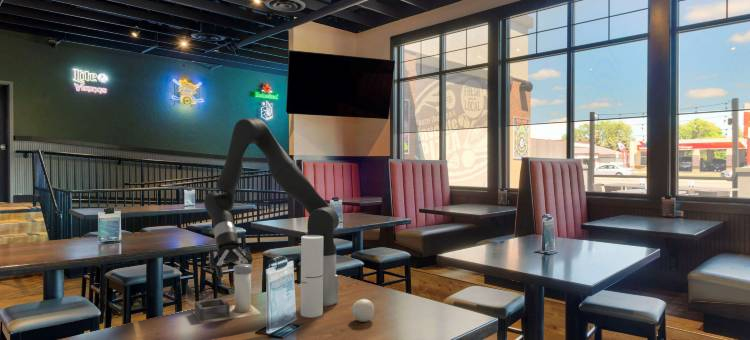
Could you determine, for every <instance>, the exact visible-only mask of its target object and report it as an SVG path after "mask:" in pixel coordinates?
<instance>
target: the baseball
mask: <svg viewBox="0 0 750 340" xmlns="http://www.w3.org/2000/svg"><path fill="white" fill-rule="evenodd" d="M350 314H351V316H353V317H354V319H355V320H356V321H358V322H361V323H362V322H363V323H366V322H368V321H370V320H371V319H372V318H373V317H374V315H375V306H374V304H373V302H372V301H371V300H369V299H367V298H361V299H358V300H356V301H355V302H354V303H353V305H351V308H350Z"/></svg>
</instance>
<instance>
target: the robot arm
mask: <svg viewBox="0 0 750 340" xmlns="http://www.w3.org/2000/svg"><path fill="white" fill-rule="evenodd" d="M252 144H254V145H256V146H257V148H258V149H259V150H260V152H262V153H263V155H264V156H265V159H266V161H267V165H268V169H269V174H270V176H271V177H272V178H273V180H274V181H275V182H276V184H277V185H278V186H279V187H280V188H281V190H283V191H284V192H285V193H286V194H287V195H289V196H290V197H291V199H292V198H293V199H294V200H295V201H296V202H298V203H299V205H301V206H302V207H303V208H304V209H305V211H307V213H308V214H309V215H308V218H307V231H306V232H307V235H320V236H323V307H327V306H328V307H330V306H332V305H334V304H338V303H339V276H338V274H337V246H336V245H335V241H334V231H335V230H336V229H337V228H338V227H339V222H340V218H339V214H338V213H337V211H336V210H335V209H334V208H333V207H332V206H331V205H330V204H329V203H328V202H327V201H326V199H324V198H323V197H322V196H321V195H320V194H319V193H318V192H317V190H316V189H315V188H314V186H313V184H312V183H311V182H310V181H309V179H308V178H307V177H306V176H305V175H304V173H303V172H302V171H301V169H300V168H299V166H298V165H297V164H296V163H295V162H294V160H293V159H292V158H291V157H290V156H289V154H288V153H287V152H286V151H285V150H284V148H283V147H282V146H281V145H280V143H279V141H278V140H277V139H276V137H275V136H274V135H273V133H272V132H271V129H269V127H268V125H267V124H266V123H265V122H264V121H263V120H262V119H260V118H257V117H249V118H247V117H245V118H241V119H239V120H238V121H236V122H235V125H234V127H233V131H232V134H231V139H230V145H229V147H228V152H227V156H226V160H225V162H224V166H223V167H222V170H221V173H220V174H219V177H218V180H217V182H216V187H217V189H218V190H219V191H221V192H223V193H221V192H215V191H214V192H213V191H212V192H209V193H207V194H206V195H205V197H204V201H203V203H204V208H205V210H206V212H207V215H208V216H209V217H210V219H211V221H212V224H213V231H214V232H213V233H214V234H213V235H214V240H215V244H216V249H217V251H214V250H213V249H210V250H209V253H208V263H209V269H210V270H211V269H214V270H215V271H216V276H217V278H219V279H223V276H224V275H223V270H222V268H223V267H222V265H223V264H224V263H226V264H228V263H235V262H236V263H237V264H251V265H252V263H253V261H254V257H253V255H252V253H251V250H250V247H249V246H246V248H244V249H242V248H241V247H240V242H239V239H238V233H237V230H236V229H237V228H236V226H235V224H234V219H233V215H232V213H231V212H230V211H232V209H233V208H234V203H235V194H236V189H237V188H238V187H237V186H238V184H239V182H240V179H241V177H242V174H243V159H244V154H245V153H246V150H247V149H248V148H249V146H250V145H252ZM242 254H243V255H242ZM216 256H217V257H218V258H219V260H218V261H217V263H216V262H215V258H216ZM244 256H245V257H244Z"/></svg>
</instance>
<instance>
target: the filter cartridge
mask: <svg viewBox="0 0 750 340" xmlns="http://www.w3.org/2000/svg"><path fill="white" fill-rule="evenodd" d="M252 269H253V266H252V264H239V263H237V264H235V265H234V266H233V272H234V305H235V311H238V312H244V311H248V310H250V309H251V305H252V304H251V303H252V301H251V300H252V295H251V294H252V288H251V287H252Z"/></svg>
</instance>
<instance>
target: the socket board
mask: <svg viewBox="0 0 750 340" xmlns="http://www.w3.org/2000/svg"><path fill="white" fill-rule="evenodd" d="M192 312H193V314H194V315H195V317H196V318H197V320H198V321H199V323H200V325H201V324H206V323H213V322H220V321H224V320H225V321H226V320H231V319H238V318H239V319H240V318H244V317H249V316H257V315H261V314H262V313H261V312H260V311H259V310H258V309H257V308H256V307H255V306H254V305H252V304H251V309H250V310H248V311H244V312H238V311H235V304H234V305H233V304H232V305H231V304H229V303H228V301H227V300H226V299H225V298H223V297H220V298H214V299H207V300H206V299H205V300H198V301H194V310H193V311H192Z"/></svg>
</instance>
